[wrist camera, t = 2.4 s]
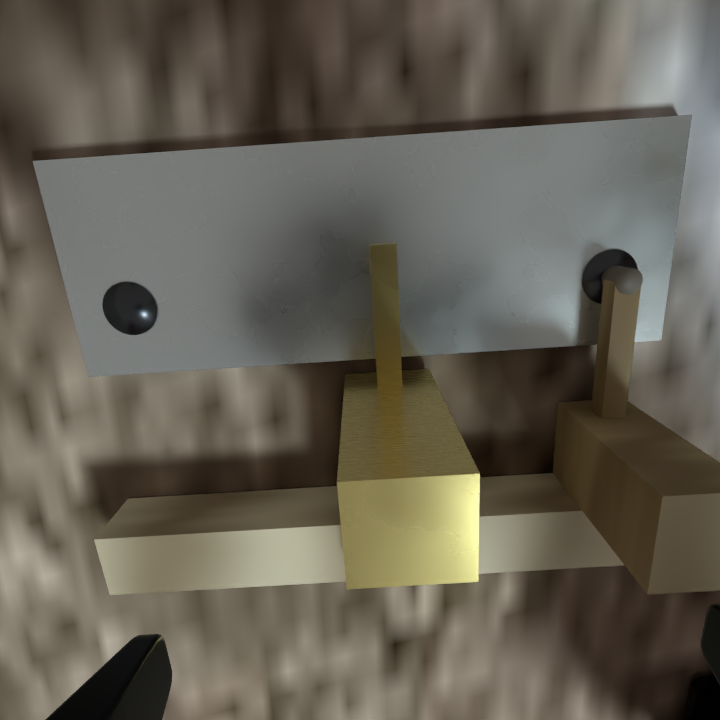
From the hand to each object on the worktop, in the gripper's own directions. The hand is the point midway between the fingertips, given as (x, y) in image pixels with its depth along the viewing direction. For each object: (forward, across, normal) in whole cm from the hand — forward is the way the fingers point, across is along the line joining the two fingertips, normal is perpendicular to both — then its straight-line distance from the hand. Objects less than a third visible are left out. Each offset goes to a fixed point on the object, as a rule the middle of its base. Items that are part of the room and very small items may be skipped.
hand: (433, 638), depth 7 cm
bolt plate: (+10, +1, -6) cm, 11 cm away
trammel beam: (+10, +1, 0) cm, 10 cm away
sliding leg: (+10, 0, 0) cm, 10 cm away
